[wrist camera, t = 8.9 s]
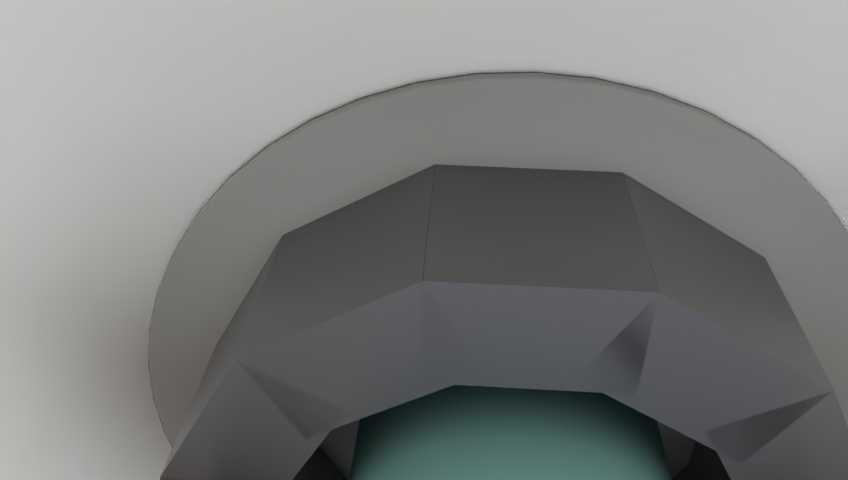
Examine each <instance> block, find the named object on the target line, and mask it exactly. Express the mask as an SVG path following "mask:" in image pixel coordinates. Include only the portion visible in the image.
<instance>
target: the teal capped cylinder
mask: <svg viewBox="0 0 848 480" xmlns="http://www.w3.org/2000/svg"><path fill="white" fill-rule="evenodd" d="M349 480H672V479H671V475H670V471H669V467H668V463H667V459H666V455H665V450H664V446H663V442H662V438H661V434H660V430H659V426H658V422H657V421H656V420H655V419H653V418H651V417H649V416H647V415H645V414H643V413H641V412H639V411H637V410H635V409H633V408H631V407H629V406H627V405H625V404H623V403H621V402H619V401H618V400H616V399H614V398H612V397H610V396H608V395H606V394H604V393H597V392H579V391H560V390H541V389H523V388H504V387H486V386H467V385H453V386H450V387H447V388H444V389H442V390H439V391H436V392H433V393H431V394H428V395H425V396H422V397H420V398H417V399H414V400H411V401H409V402H406V403H403V404H400V405H398V406H395V407H392V408H389V409H387V410H384V411H381V412H378V413H376V414H373V415H370V416H367V417H365V418H362V419H360V420H359V425H358V431H357V437H356V442H355V448H354V454H353V460H352V465H351V471H350V477H349Z"/></svg>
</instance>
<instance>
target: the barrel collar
mask: <svg viewBox="0 0 848 480" xmlns="http://www.w3.org/2000/svg"><path fill="white" fill-rule="evenodd" d="M148 365H149V372H150V379H151V386H152V392H153V399H154V402H155V405H156V408H157V411H158V414H159V417H160V421H161V424H162V427H163V430H164V432H165V434H166V436H167V438H168V440H169V442H170V444H171V446H172V451H171V453H170V455H169V458H168V460H167V463H166V465H165V467H164V470H163V472H162V474H161V477H160V480H349V477H350V471H351V465H352V460H353V454H354V448H355V442H356V437H357V431H358V425H359V420H360V419H362V418H365V417H367V416H370V415H373V414H376V413H378V412H381V411H384V410H387V409H389V408H392V407H395V406H398V405H400V404H403V403H406V402H409V401H411V400H414V399H417V398H420V397H422V396H425V395H428V394H431V393H433V392H436V391H439V390H442V389H444V388H447V387H450V386H453V385H467V386H486V387H504V388H523V389H541V390H560V391H579V392H597V393H604V394H606V395H608V396H610V397H612V398H614V399H616V400H618V401H619V402H621V403H623V404H625V405H627V406H629V407H631V408H633V409H635V410H637V411H639V412H641V413H643V414H645V415H647V416H649V417H651V418H653V419H655V420H656V421H657V422H658V426H659V430H660V434H661V438H662V442H663V446H664V450H665V455H666V459H667V463H668V467H669V471H670V475H671V479H672V480H848V232H847V231H846V229H845V228H844V226H843V225H842V223H841V222H840V220H839V219H838V217H837V216H836V214H835V213H834V211H833V210H832V208H831V207H830V206H829V204H828V203H827V202H826V201H825V200H824V199H823V198H822V197H821V196H820V194H819V193H818V192H817V191H816V190H815V189H814V188H813V187H812V186H811V185H810V184H809V183H808V182H807V181H806V180H805V179H804V178H803V177H802V176H801V175H800V174H799V172H798V171H797V170H796V169H795V168H793V167H792V166H791V165H789V164H788V163H787V162H785V161H784V160H783V159H781V158H780V157H779V156H777V155H776V154H775V153H774V152H772V151H771V150H770V149H768V148H767V147H766V146H764V145H763V144H762V143H760V142H759V141H758V140H756V139H755V138H754V137H752V136H750V135H748V134H746V133H744V132H742V131H741V130H739V129H737V128H735V127H733V126H731V125H730V124H728V123H726V122H724V121H722V120H720V119H719V118H717V117H715V116H713V115H711V114H709V113H708V112H705V111H703V110H700V109H697V108H695V107H692V106H689V105H687V104H684V103H681V102H679V101H676V100H673V99H671V98H668V97H665V96H663V95H660V94H657V93H655V92H651V91H647V90H643V89H638V88H634V87H630V86H625V85H621V84H617V83H612V82H608V81H604V80H599V79H594V78H584V77H574V76H564V75H554V74H544V73H501V74H473V75H466V76H459V77H453V78H446V79H439V80H433V81H426V82H419V83H415V84H411V85H407V86H404V87H400V88H397V89H393V90H390V91H386V92H383V93H379V94H376V95H372V96H368V97H365V98H361V99H359V100H357V101H354V102H352V103H350V104H347V105H345V106H343V107H340V108H338V109H336V110H333V111H331V112H329V113H326V114H324V115H322V116H319V117H317V118H315V119H312V120H310V121H309V122H307V123H305V124H304V125H302V126H300V127H299V128H297V129H295V130H294V131H292V132H290V133H289V134H287V135H286V136H284V137H282V138H281V139H279V140H277V141H276V142H274V143H272V144H271V145H269V146H267V147H266V148H265V149H264V150H262V151H261V152H260V153H259V154H258V155H256V156H255V157H254V158H253V159H251V160H250V161H249V162H248V163H247V164H245V165H244V166H243V167H242V168H240V169H239V170H238V171H237V172H236V173H234V174H233V175H232V176H231V177H230V178H229V179H228V180H227V181H226V182H225V183H224V184H223V186H222V187H221V188H220V189H219V190H218V191H217V192H216V193H215V195H214V196H213V197H212V198H211V199H210V200H209V201H208V202H207V204H206V205H205V206H204V207H203V208H202V209H201V210H200V212H199V213H198V215H197V217H196V218H195V220H194V221H193V223H192V225H191V226H190V228H189V229H188V231H187V232H186V234H185V236H184V237H183V239H182V240H181V242H180V244H179V245H178V247H177V249H176V250H175V252H174V254H173V256H172V258H171V260H170V263H169V265H168V267H167V270H166V272H165V275H164V277H163V280H162V282H161V285H160V287H159V289H158V292H157V296H156V300H155V305H154V310H153V315H152V319H151V324H150V329H149V361H148Z"/></svg>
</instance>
